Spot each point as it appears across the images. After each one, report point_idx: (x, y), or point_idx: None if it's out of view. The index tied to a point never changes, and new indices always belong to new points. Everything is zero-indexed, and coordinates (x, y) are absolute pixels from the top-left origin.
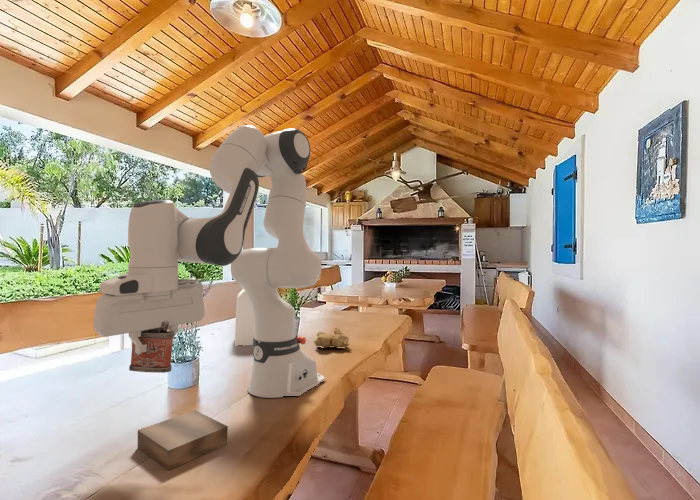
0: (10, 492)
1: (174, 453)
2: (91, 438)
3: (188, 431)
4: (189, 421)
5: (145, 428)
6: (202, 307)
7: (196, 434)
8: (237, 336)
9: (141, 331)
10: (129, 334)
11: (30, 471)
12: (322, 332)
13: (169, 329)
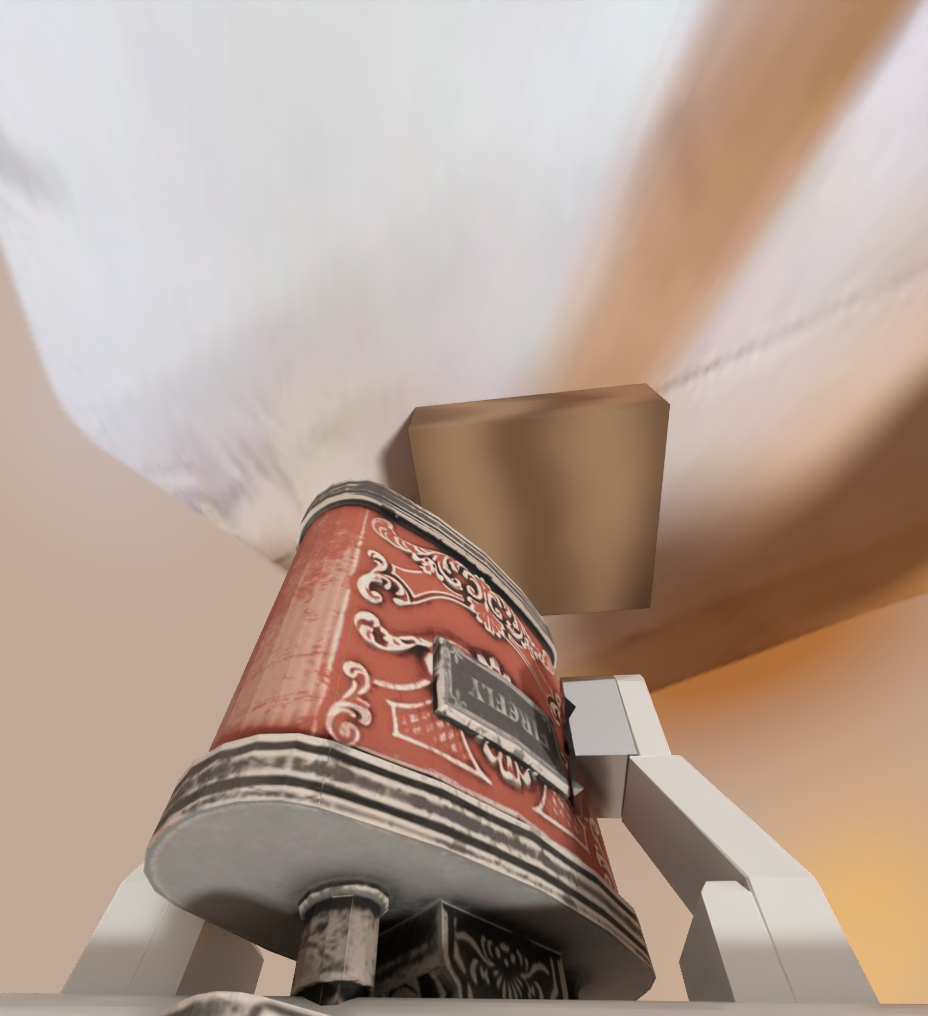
0: (73, 419)
1: None
2: (277, 166)
3: (540, 560)
4: (586, 493)
5: (435, 438)
6: None
7: (548, 592)
8: None
9: (290, 894)
10: (115, 932)
11: (92, 320)
12: None
13: (687, 940)
